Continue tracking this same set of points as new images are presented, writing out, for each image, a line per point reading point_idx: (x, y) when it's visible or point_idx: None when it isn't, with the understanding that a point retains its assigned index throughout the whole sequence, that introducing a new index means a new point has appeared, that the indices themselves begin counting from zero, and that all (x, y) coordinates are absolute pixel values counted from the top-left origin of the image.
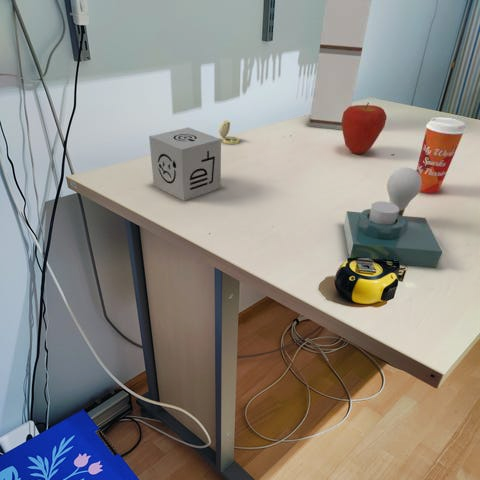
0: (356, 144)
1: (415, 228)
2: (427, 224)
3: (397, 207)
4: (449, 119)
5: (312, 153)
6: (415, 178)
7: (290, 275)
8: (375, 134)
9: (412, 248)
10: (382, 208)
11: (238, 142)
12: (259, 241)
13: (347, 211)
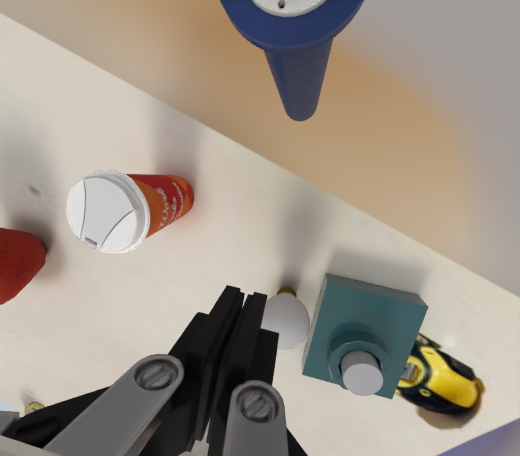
0: (39, 268)
1: (359, 311)
2: (349, 290)
3: (366, 365)
4: (79, 201)
5: (58, 319)
6: (302, 328)
7: (408, 444)
8: (19, 248)
9: (414, 340)
10: (367, 385)
11: (40, 405)
12: (334, 451)
13: (303, 374)
